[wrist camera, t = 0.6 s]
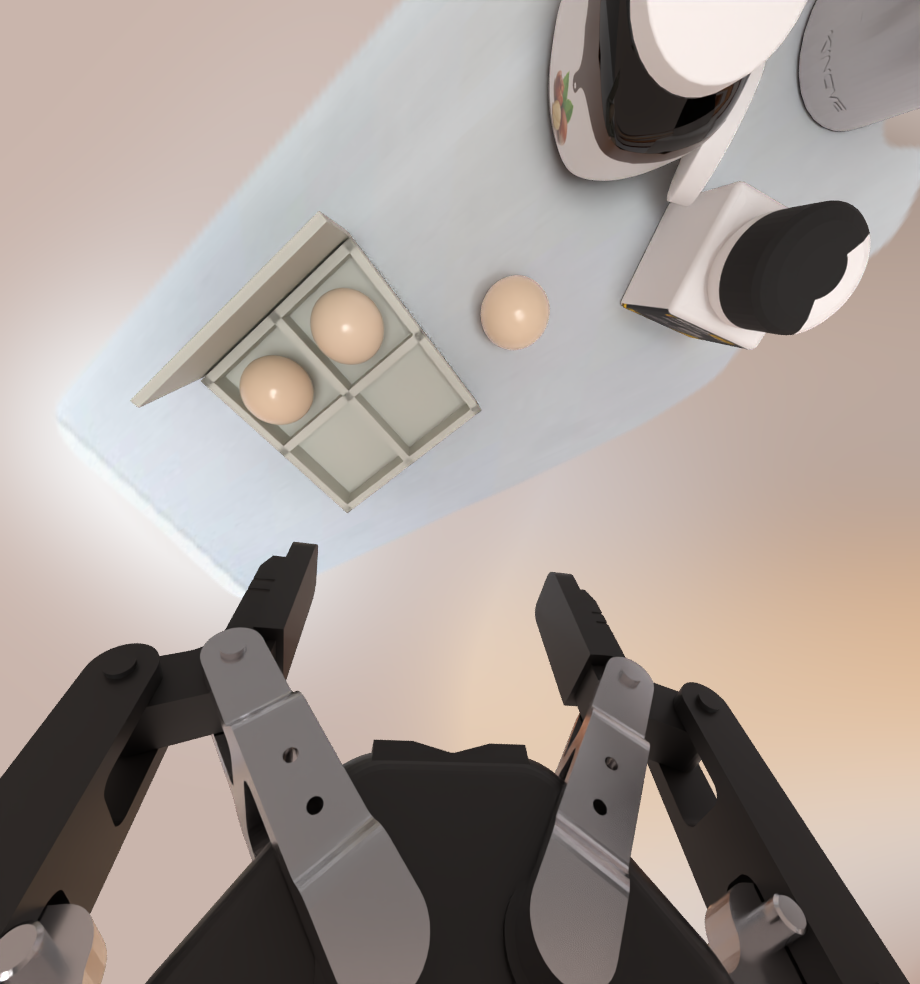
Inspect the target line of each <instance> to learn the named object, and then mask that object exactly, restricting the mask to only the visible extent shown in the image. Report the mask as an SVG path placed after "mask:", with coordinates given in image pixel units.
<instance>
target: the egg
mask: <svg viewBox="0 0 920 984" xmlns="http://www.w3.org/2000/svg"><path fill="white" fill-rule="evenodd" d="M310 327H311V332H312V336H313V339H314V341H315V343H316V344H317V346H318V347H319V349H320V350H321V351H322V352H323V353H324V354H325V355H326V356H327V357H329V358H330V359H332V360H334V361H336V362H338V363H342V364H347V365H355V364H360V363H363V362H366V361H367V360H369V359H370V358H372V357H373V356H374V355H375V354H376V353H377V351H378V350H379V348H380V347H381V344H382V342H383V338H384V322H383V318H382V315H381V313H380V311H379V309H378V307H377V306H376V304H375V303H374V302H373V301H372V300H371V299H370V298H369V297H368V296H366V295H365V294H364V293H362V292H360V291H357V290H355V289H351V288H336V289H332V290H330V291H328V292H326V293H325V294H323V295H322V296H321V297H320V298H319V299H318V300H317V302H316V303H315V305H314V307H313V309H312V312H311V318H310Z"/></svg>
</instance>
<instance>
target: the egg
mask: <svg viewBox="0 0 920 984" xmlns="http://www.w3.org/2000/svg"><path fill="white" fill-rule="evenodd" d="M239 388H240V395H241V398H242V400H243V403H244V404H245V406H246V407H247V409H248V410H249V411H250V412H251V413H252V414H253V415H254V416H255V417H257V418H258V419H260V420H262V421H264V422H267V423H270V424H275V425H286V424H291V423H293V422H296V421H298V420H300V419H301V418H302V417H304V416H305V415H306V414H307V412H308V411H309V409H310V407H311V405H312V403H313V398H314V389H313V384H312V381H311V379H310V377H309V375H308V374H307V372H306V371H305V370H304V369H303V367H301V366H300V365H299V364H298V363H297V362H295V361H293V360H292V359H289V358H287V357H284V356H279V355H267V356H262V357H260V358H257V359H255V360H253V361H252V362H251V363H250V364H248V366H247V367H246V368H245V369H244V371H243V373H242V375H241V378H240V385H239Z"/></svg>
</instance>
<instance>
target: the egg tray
mask: <svg viewBox="0 0 920 984" xmlns="http://www.w3.org/2000/svg"><path fill="white" fill-rule="evenodd" d="M336 288H351V289H355V290H357V291H360V292H362V293H364V294H365V295H366V296H368V297H369V298H370V299H371V300H372V301H373V302H374V303H375V304H376V306H377V307H378V309H379V311H380V313H381V315H382V318H383V322H384V338H383V342H382V344H381V347H380V348H379V350H378V351H377V353H376V354H375V355H374V356H373V357H372V358H370V359H369V360H367V361H366V362H363V363H360V364H355V365H347V364H342V363H338V362H336V361H334V360H332V359H330V358H329V357H327V356H326V355H325V354H324V353H323V352H322V351H321V350H320V349H319V347H318V346H317V344H316V343H315V341H314V339H313V336H312V332H311V327H310V318H311V312H312V309H313V307H314V305H315V303H316V302H317V300H318V299H319V298H320V297H321V296H322V295H323V294H325V293H326V292H328V291H330V290H332V289H336ZM267 355H279V356H284V357H287V358H289V359H292V360H293V361H295V362H297V363H298V364H299V365H300V366H301V367H303V369H304V370H305V371H306V372H307V374H308V375H309V377H310V379H311V381H312V384H313V389H314V398H313V403H312V405H311V407H310V409H309V411H308V412H307V414H306V415H305V416H304V417H302V418H301V419H300V420H298V421H296V422H293V423H291V424H286V425H275V424H270V423H267V422H264V421H262V420H260V419H258V418H257V417H255V416H254V415H253V414H252V413H251V412H250V411H249V410H248V409H247V407H246V406H245V404H244V403H243V400H242V398H241V395H240V388H239V385H240V378H241V375H242V373H243V371H244V369H245V368H246V367H247V366H248V364H250V363H251V362H252V361H253V360H255V359H257V358H260V357H262V356H267ZM203 377H204V378H203ZM200 378H203V379H202V380H201V382H202V383H203V384H204V385H205V386H207V387H208V388H209V389H210V390H211V391H212V392H213V393H214V394H215V395H217V396H218V397H219V398H220V399H221V400H222V401H223V402H224V403H225V404H227V405H228V406H229V407H230V408H231V409H232V410H233V411H234V412H235V413H237V414H238V415H239V416H240V417H241V418H242V419H243V420H244V421H245V422H247V423H248V424H249V425H250V426H251V427H252V428H253V429H254V430H255V431H257V432H258V433H259V434H260V435H261V436H262V437H263V438H264V439H265V440H267V441H268V442H269V443H270V444H271V445H272V446H273V447H274V448H275V449H277V450H278V451H279V452H280V453H281V454H282V455H283V456H284V457H285V458H287V459H288V460H289V461H290V462H291V463H292V464H293V465H294V466H295V467H297V468H298V469H299V470H300V471H301V472H302V473H303V474H304V475H305V476H307V477H308V478H309V479H310V480H311V481H312V482H313V483H314V484H315V485H317V486H318V487H319V488H320V489H321V490H322V491H323V492H324V493H325V494H327V495H328V496H329V497H330V498H331V499H332V500H333V501H334V502H335V503H337V504H338V505H339V506H340V507H341V508H342V509H343V510H344V511H345V512H347V513H348V512H350V511H351V510H352V509H354V508H355V507H356V506H357V505H359V504H360V503H361V502H363V501H364V500H365V499H367V498H368V497H369V496H370V495H372V494H373V493H374V492H376V491H377V490H378V489H380V488H381V487H382V486H384V485H385V484H386V483H387V482H389V481H390V480H391V479H393V478H394V477H395V476H397V475H398V474H399V473H400V472H402V471H403V470H404V469H406V468H407V467H408V466H410V465H411V464H412V463H414V462H415V461H416V460H417V459H419V458H420V457H421V456H423V455H424V454H425V453H427V452H428V451H429V450H430V449H432V448H433V447H434V446H436V445H437V444H438V443H440V442H441V441H442V440H443V439H445V438H446V437H447V436H449V435H450V434H451V433H453V432H454V431H455V430H457V429H458V428H459V427H460V426H462V425H463V424H464V423H466V422H467V421H468V420H470V419H471V418H472V417H473V416H475V415H476V414H477V413H479V412H480V411H481V409H480V407H479V405H478V403H477V401H476V400H475V398H474V397H473V396H472V395H471V393H470V392H469V391H468V389H467V388H466V387H465V385H464V384H463V383H462V381H461V380H460V379H459V377H458V376H457V375H456V373H455V372H454V371H453V369H452V368H451V367H450V366H449V364H448V363H447V362H446V360H445V359H444V358H443V356H442V355H441V354H440V352H439V351H438V350H437V348H436V347H435V346H434V344H433V343H432V342H431V340H430V339H429V338H428V337H427V335H426V334H425V333H424V331H423V330H422V329H421V327H420V326H419V325H418V323H417V322H416V321H415V319H414V318H413V317H412V315H411V314H410V313H409V311H408V310H407V309H406V308H405V306H404V305H403V304H402V302H401V301H400V300H399V298H398V297H397V296H396V294H395V293H394V292H393V290H392V289H391V288H390V286H389V285H388V284H387V282H386V281H385V280H384V279H383V277H382V276H381V275H380V273H379V272H378V271H377V269H376V268H375V267H374V265H373V264H372V263H371V261H370V260H369V259H368V257H367V256H366V255H365V254H364V252H363V251H362V250H361V248H360V247H359V246H358V244H357V243H356V242H355V240H353V238H352V236H351V235H350V234H349V232H348V231H346V230H345V229H344V228H342V227H341V226H339V225H338V224H337V223H335V222H334V221H332V220H331V219H330V218H328V217H327V216H325V215H324V214H323V213H321V212H320V211H318V212H317V213H316V214H315V215H314V216H313V217H312V218H311V219H310V220H309V221H308V222H307V223H306V224H305V226H304V227H303V228H302V229H301V230H300V231H299V232H298V233H297V234H296V235H295V236H294V237H293V238H292V239H291V240H290V241H289V242H288V243H287V244H286V245H285V246H284V247H283V248H282V249H281V250H280V251H279V252H278V253H277V254H276V255H275V256H274V257H273V258H272V259H271V260H270V261H269V262H268V263H267V264H266V265H265V266H264V267H263V268H262V269H261V270H260V271H259V272H258V273H257V274H256V275H255V276H254V277H253V278H252V279H251V280H250V281H249V282H248V283H247V284H246V285H245V286H244V287H243V288H242V289H241V290H240V291H239V292H238V293H237V294H236V295H235V296H234V297H233V298H232V299H231V300H230V301H229V302H228V303H227V304H226V305H225V306H224V307H223V308H222V309H221V310H220V311H219V312H218V313H217V314H216V315H215V316H214V317H213V318H212V319H211V320H210V321H209V322H208V323H207V324H206V325H205V326H204V327H203V328H202V329H201V330H200V331H199V332H198V333H197V334H196V335H195V336H194V337H193V338H192V339H191V340H190V341H189V342H188V343H187V344H186V345H185V346H184V347H183V348H182V349H181V350H180V351H179V352H178V353H177V354H176V355H175V356H174V357H173V358H172V359H171V360H170V361H169V362H168V363H167V364H166V365H165V366H164V367H163V368H162V369H161V370H160V371H159V372H158V373H157V374H156V375H155V376H154V377H153V378H152V379H151V380H150V381H149V382H148V383H147V384H146V385H145V386H144V387H143V388H142V389H141V390H140V391H139V392H138V393H137V394H136V395H135V396H134V397H133V398H132V399H131V400H130V401H131V402H132V403H133V404H135V405H136V406H137V407H138V408H140V407H142V406H144V405H146V404H148V403H150V402H152V401H154V400H156V399H158V398H161V397H163V396H165V395H167V394H169V393H171V392H173V391H175V390H177V389H179V388H182V387H184V386H186V385H188V384H190V383H192V382H194V381H196V380H198V379H200Z"/></svg>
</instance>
